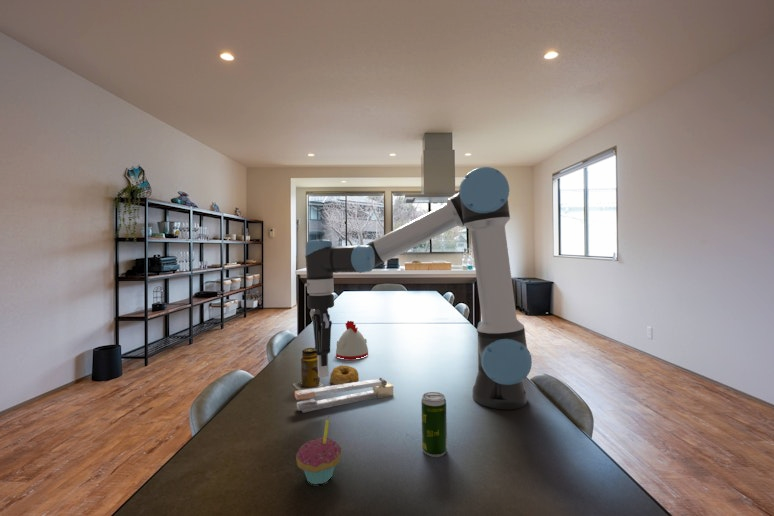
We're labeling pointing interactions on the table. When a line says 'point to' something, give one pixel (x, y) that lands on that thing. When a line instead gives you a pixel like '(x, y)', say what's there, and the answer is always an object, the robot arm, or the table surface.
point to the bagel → (344, 375)
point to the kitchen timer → (351, 343)
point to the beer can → (434, 424)
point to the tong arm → (338, 388)
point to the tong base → (346, 398)
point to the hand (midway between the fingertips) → (323, 376)
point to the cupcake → (319, 458)
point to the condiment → (309, 370)
